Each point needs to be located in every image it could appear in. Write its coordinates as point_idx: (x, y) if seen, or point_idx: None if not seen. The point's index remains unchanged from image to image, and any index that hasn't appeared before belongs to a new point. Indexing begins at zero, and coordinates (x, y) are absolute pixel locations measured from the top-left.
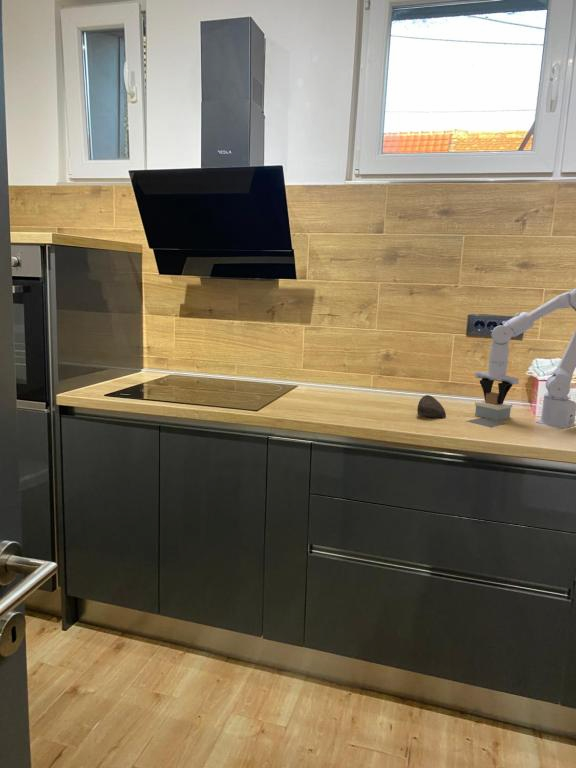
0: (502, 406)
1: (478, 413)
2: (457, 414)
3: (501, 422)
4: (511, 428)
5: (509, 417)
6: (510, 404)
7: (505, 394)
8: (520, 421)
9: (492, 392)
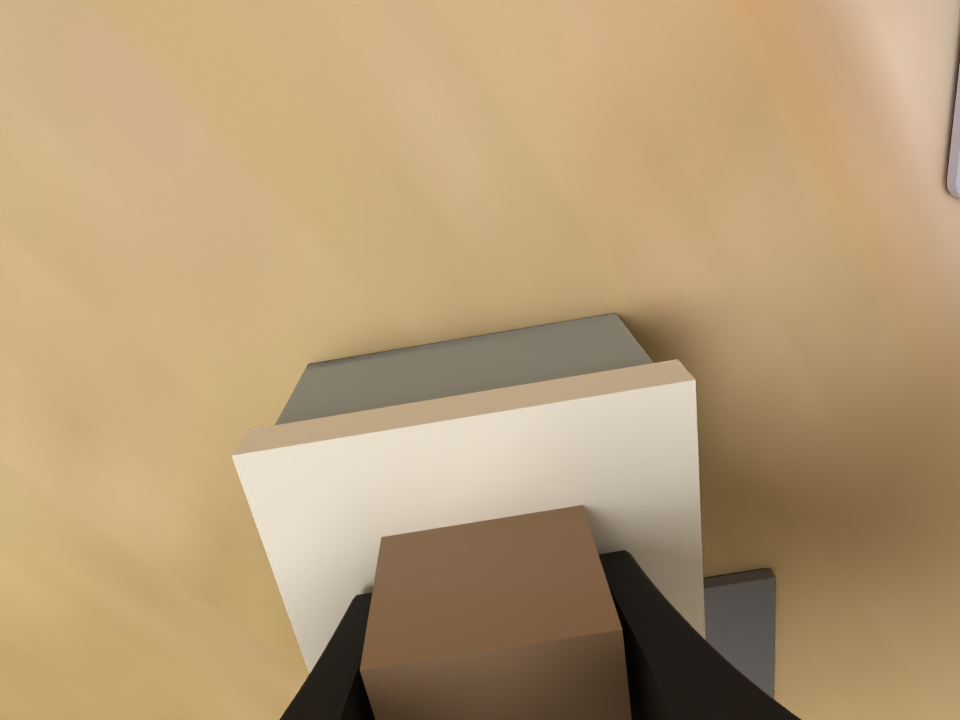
0: (703, 634)
1: None
2: (234, 686)
3: (719, 588)
4: (871, 620)
5: (620, 322)
6: (688, 427)
7: (705, 668)
8: (771, 292)
9: (388, 695)
